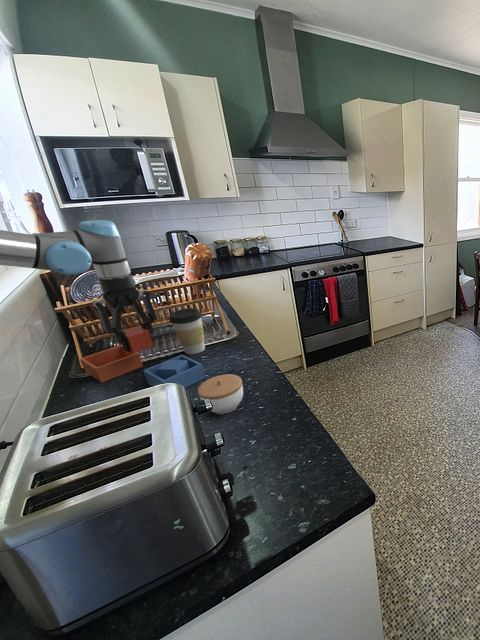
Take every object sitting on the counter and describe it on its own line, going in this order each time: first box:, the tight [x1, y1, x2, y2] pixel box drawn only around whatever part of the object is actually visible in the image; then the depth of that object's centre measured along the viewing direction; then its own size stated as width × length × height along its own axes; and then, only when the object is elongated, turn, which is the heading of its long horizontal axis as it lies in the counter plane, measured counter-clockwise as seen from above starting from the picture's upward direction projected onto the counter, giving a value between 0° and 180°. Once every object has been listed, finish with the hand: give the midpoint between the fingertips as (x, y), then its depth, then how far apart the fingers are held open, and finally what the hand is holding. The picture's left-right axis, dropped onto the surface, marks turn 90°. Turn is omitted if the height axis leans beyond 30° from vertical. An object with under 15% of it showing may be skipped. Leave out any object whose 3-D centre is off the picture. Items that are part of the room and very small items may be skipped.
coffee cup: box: [168, 307, 206, 355], centre depth 125 cm, size 10×10×15 cm
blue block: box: [158, 359, 189, 380], centre depth 109 cm, size 6×6×6 cm
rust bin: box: [79, 344, 144, 383], centre depth 114 cm, size 11×11×5 cm
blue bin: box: [142, 354, 207, 388], centre depth 109 cm, size 11×11×5 cm
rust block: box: [123, 326, 154, 353], centre depth 108 cm, size 6×6×6 cm
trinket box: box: [197, 373, 244, 415], centre depth 97 cm, size 11×11×9 cm
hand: (139, 346), depth 109 cm, fingers closed on rust block, 5 cm apart
